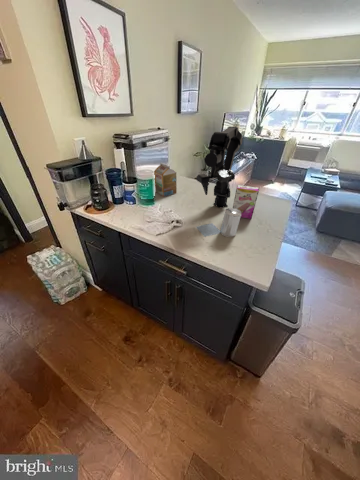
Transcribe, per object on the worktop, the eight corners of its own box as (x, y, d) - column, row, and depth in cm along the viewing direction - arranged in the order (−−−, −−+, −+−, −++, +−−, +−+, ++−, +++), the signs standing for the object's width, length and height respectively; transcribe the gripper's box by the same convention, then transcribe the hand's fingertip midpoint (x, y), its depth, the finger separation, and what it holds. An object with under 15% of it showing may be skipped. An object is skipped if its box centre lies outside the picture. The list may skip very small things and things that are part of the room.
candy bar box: (230, 216, 110) (236, 187, 100) (232, 212, 114) (237, 184, 104) (251, 219, 107) (259, 190, 97) (252, 215, 111) (259, 187, 101)
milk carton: (155, 191, 138) (153, 163, 127) (168, 188, 143) (167, 161, 132) (163, 196, 131) (162, 167, 120) (176, 193, 136) (176, 164, 125)
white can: (226, 227, 100) (231, 206, 93) (238, 234, 95) (244, 212, 89) (217, 231, 96) (222, 210, 89) (229, 239, 91) (234, 217, 85)
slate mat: (212, 223, 103) (212, 223, 103) (221, 233, 96) (222, 232, 95) (195, 227, 100) (195, 226, 100) (204, 237, 93) (204, 236, 92)
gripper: (208, 168, 84) (205, 202, 93) (244, 164, 90) (238, 197, 99) (197, 162, 93) (195, 194, 101) (230, 159, 98) (226, 189, 107)
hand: (214, 193), depth 102 cm, fingers open, 9 cm apart
